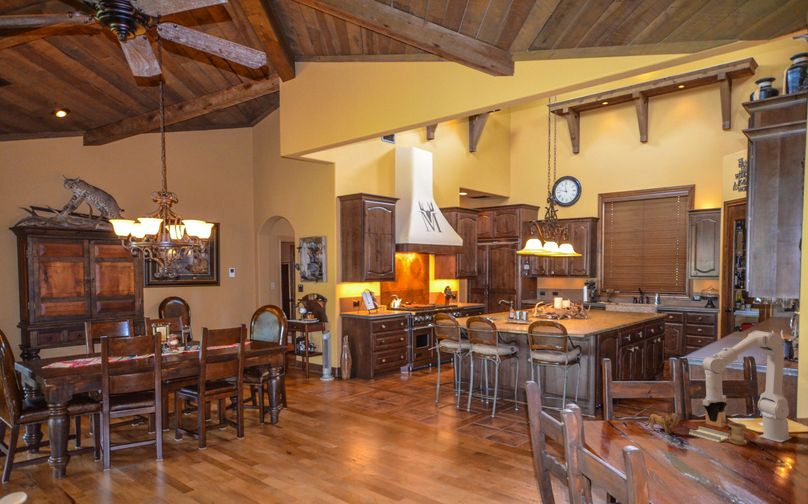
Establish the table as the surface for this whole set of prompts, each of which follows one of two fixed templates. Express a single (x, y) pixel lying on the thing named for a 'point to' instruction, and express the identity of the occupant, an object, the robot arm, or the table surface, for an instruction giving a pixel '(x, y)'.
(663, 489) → the table surface
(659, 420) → the lion figurine
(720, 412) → the tan block
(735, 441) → the bobbin
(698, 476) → the table surface
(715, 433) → the notched board
